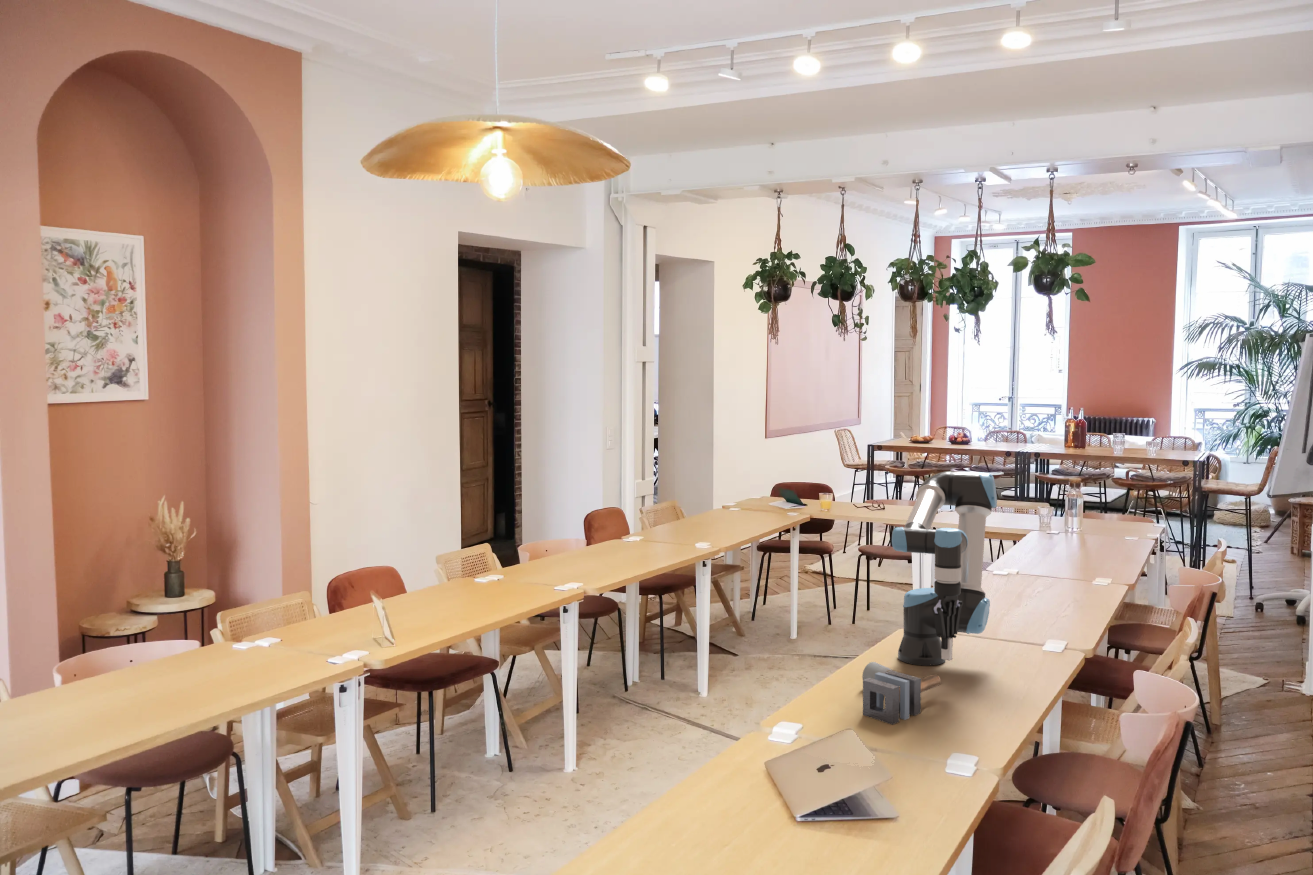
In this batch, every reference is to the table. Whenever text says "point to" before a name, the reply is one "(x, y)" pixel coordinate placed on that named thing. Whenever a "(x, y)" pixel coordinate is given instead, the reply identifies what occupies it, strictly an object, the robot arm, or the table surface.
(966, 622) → the robot arm
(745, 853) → the table surface
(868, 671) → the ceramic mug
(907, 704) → the aperture arch
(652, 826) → the table surface
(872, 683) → the collar
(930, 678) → the air tube
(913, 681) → the square frame
